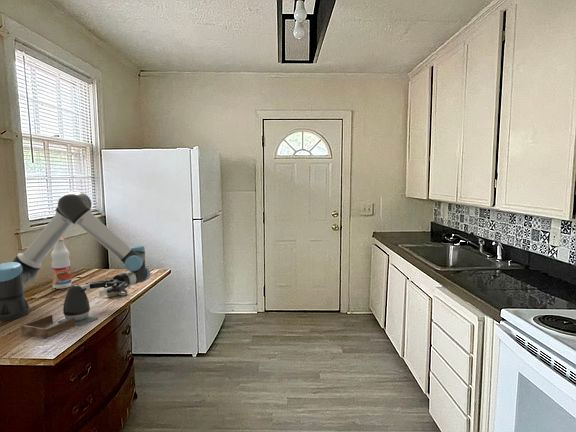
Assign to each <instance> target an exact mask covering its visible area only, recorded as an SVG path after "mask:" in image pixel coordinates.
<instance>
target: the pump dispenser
mask: <svg viewBox="0 0 576 432" xmlns="http://www.w3.org/2000/svg"><path fill="white" fill-rule="evenodd" d="M81 286H82V285H81ZM81 286H80V285H78V284H77V285H76V284H75V285H71V286H70V287H69V289H68V290H67V292H66V294H65V298H64V301H63V308H62V309H63V310H62V314H63V315H64V317H65V318H66V319H67V320H70V319H73V318H75V321H81V320H83V319H85V318H86V317H87V316H89V314H90V311H91V306H90V301H89V298H88V296H87V293H86V291H85V290H87V288H82V287H81ZM65 318H64V319H65Z"/></svg>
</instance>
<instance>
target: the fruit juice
mask: <svg viewBox="0 0 576 432" xmlns="http://www.w3.org/2000/svg"><path fill="white" fill-rule="evenodd" d="M65 241H66V240H65V238H60V240H59V241H58V242H57V243H56V244H55V246H54V247H53V250H52V251H51V254H50V257H51V260H52V261H51V264H50V265H51V279H52V280H51V281H52V288H53V289H55V288H56V289H58V290H60V289H61V290H62V289H65V288H70V287H72V283H73V282H72V268H71V260H70V254H71V253H70V251H69V250H68V248H67V247H66V244H65Z"/></svg>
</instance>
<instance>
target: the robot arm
mask: <svg viewBox="0 0 576 432" xmlns="http://www.w3.org/2000/svg"><path fill="white" fill-rule="evenodd" d="M92 203H93V202H92V200H91V197H89V196H88V194H86V193H83V192H80V191H74V192H73V191H72V192H68V193H67V192H66V193H64V194H62V195H61V196H60V197H59V198H58V200H57V207H56V208H55V215H53V217H51V219H50V221H48V223H47V224H46V225H45V227H43V229H42V230H41V232H39V234H38V235H37V236H36V238H34V239H33V241H32V242H31V244H30V245H29V246H28V247H27V248H26V250H25V251H24V252H19V253H18V254H17V255H16V256H15V257H14V258H13V260H12V261H8V262H2V263H0V322H5V321H6V320H7V321H12V320H16V319H20V318H23V317H25V316H27V315H29V314H30V306H29V303H28V302H27V300H26V298H25V294H24V293H25V292H24V285H26V284H28V283H30V282H32V281H33V280H34V279H35V277H36V276H37V274H38V272H39V271H40V269H41V268H42V266H43V265H42V262H43V260H44V259H45V258H46V257H47V255H48V254H49V253H50V252H52V251H51V250H52V249H54V247H55V244H56V243H57V242H58V241H59V240H60V239H62V237H64V235H65V233H67V231H68V230H69V229H70V228H71V226H72V225H75V226H79V227H81V228H82V230H84V231H85V232H86V233H88V234H89V235H90V236H91V237H92V238H93V239H95V240H96V241H97V243H100V244H101V245H102V246H103V247H104V248H105V249H106V250H107V251H108V252H110V253H111V254H113V256H114V257H116V258H117V259H118V260H119V261H120V262H121V263H123V264H124V266H125V268H126V270H127V271H124V272H122V273H119V274H115V275H114V277H113V278H111V279H106V278H105V279H102V280H101V279H100V280H96V281H91V282H85V284H84V285H81V287H82V288H87V290H85V292H88V291H90V290H93V289H94V290H95V289H99V288H101V289H99V292H98V293H99V297H104V296H107V294H110V293H112V292H116V291H117V292H120V291H121V292H123V291H122V290H123V289H126V288H131V287H132V286H134V285H138V284H141V283H143V282H145V281H147V280H149V279H150V277H151V271H150V269H149V268H148V267H147V266H146V251H145V246H143V245H133V246H129V244H128V243H126V242H124V240H123V239H121V238H120V237H119V236H118V235H117V234H116V233H114V232H113V231H112V230H111V229H110V228H108V226H107V225H105V224H104V223H103V222H102V221H101V220H100V219H99V218H97V217H96V216H95V215H94V214H93V213H92ZM7 321H6V322H7Z"/></svg>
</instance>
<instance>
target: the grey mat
mask: <svg viewBox="0 0 576 432" xmlns="http://www.w3.org/2000/svg"><path fill="white" fill-rule="evenodd" d="M96 320H98V317H97V316H96V317H94V316H89V315H88V316H87V317H86V318H85V319H83V320H81V321H75V327H76V326H77V327H83V326H84V325H86V324H89V323H92V322H93V321H96ZM65 321H67V319H66V318H63V319H60V320H58V321H57V324H60V323H62V322H65Z"/></svg>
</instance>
